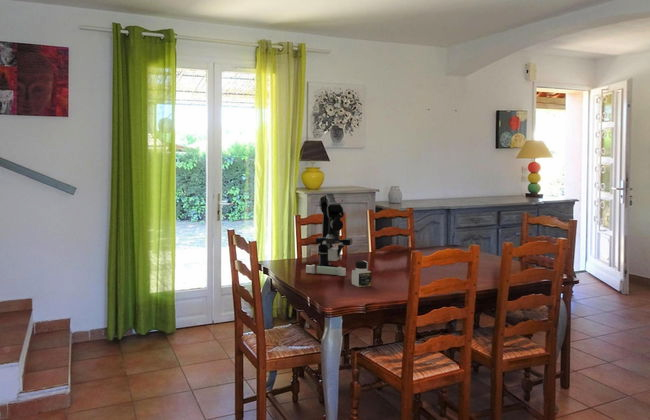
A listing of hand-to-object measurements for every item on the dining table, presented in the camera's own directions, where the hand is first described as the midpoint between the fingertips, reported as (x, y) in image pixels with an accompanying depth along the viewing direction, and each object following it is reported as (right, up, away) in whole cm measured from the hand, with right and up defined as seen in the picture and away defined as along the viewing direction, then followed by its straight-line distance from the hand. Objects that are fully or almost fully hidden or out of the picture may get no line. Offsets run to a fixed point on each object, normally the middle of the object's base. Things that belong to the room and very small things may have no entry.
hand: (333, 257), depth 282 cm
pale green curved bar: (-3, -10, +7) cm, 12 cm away
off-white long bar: (-4, -10, +7) cm, 13 cm away
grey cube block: (0, -1, 0) cm, 1 cm away
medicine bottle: (+13, -13, -16) cm, 24 cm away
